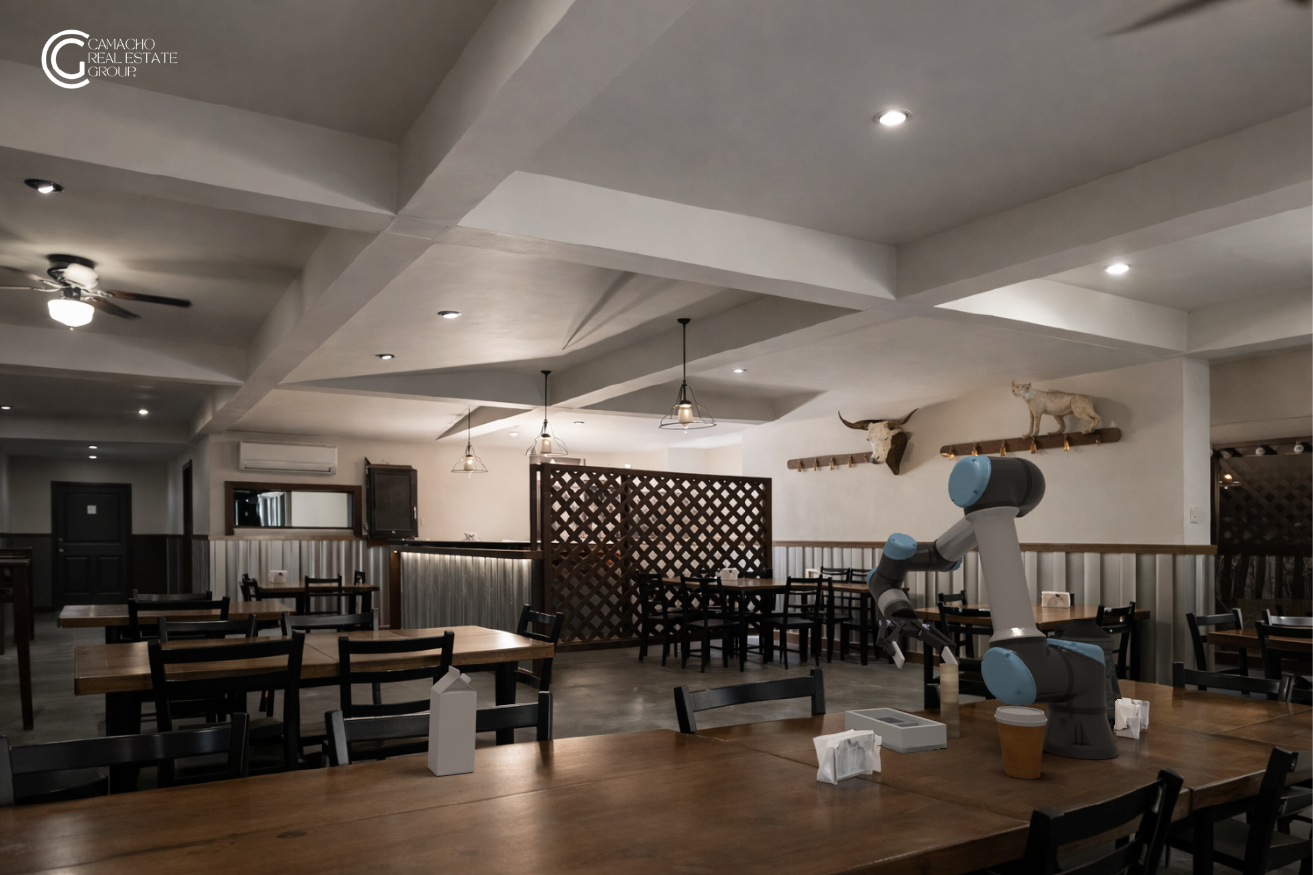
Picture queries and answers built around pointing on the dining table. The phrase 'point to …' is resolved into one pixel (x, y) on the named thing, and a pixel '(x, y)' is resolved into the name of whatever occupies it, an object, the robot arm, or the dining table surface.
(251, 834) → the dining table surface
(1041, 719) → the disposable coffee cup
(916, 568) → the robot arm
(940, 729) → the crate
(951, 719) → the dowel
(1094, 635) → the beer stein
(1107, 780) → the dining table surface
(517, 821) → the dining table surface
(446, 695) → the milk carton
